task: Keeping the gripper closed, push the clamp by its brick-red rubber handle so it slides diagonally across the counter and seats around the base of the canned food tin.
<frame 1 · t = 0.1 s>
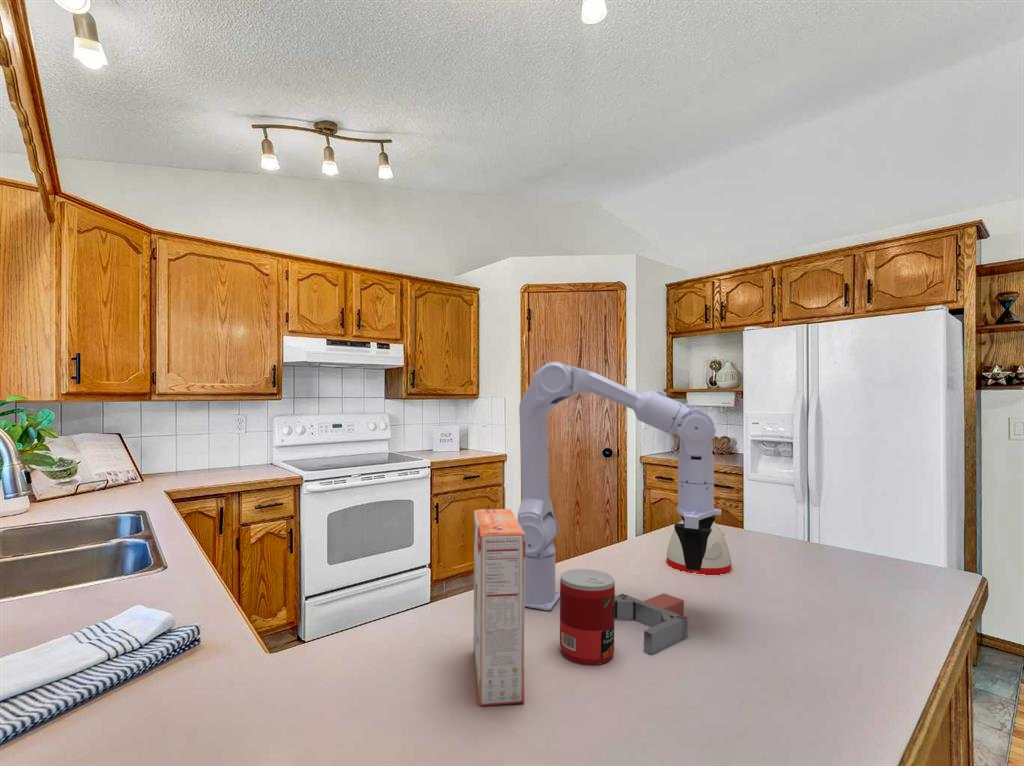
hand: (695, 562, 87), 10 cm above the counter, tool pointing down, fingers open, 7 cm apart
canned food: (586, 654, 76), on the counter
kitchen timer: (698, 566, 117), on the counter
cracker box: (495, 677, 69), on the counter
clamp: (629, 633, 82), on the counter
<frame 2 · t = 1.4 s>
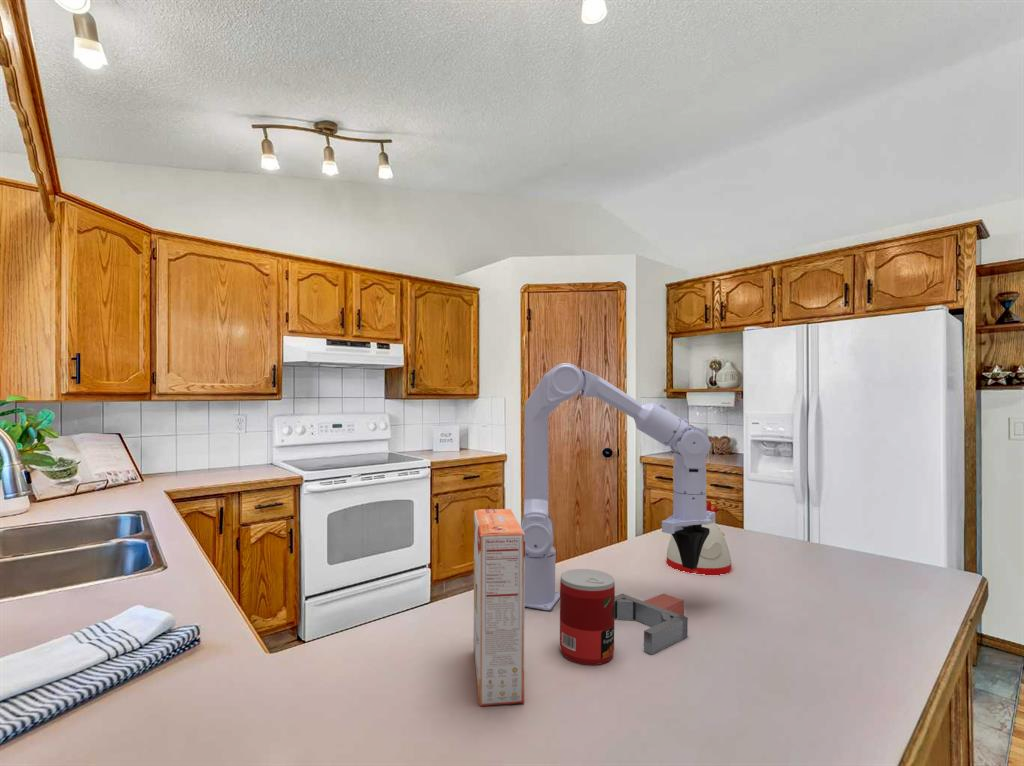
hand: (689, 567, 93), 7 cm above the counter, tool pointing down, fingers closed
nothing on the counter moved.
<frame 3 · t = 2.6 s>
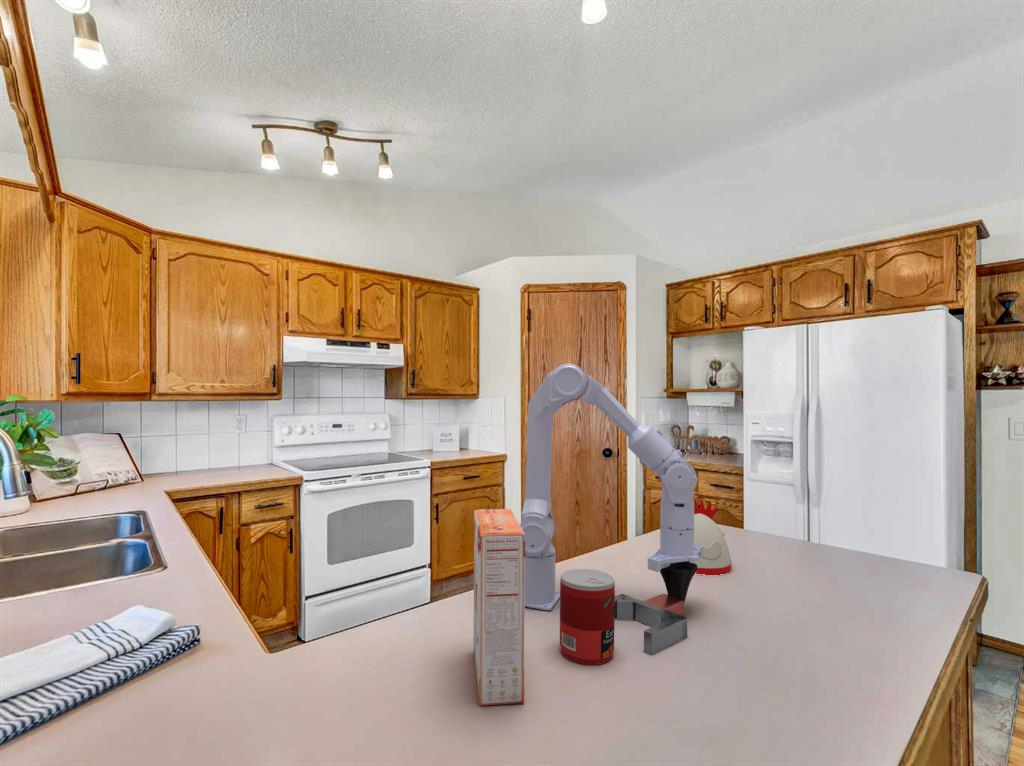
hand: (676, 604, 91), 1 cm above the counter, tool pointing down, fingers closed
clamp: (629, 633, 82), on the counter, touching gripper
everything else where it was.
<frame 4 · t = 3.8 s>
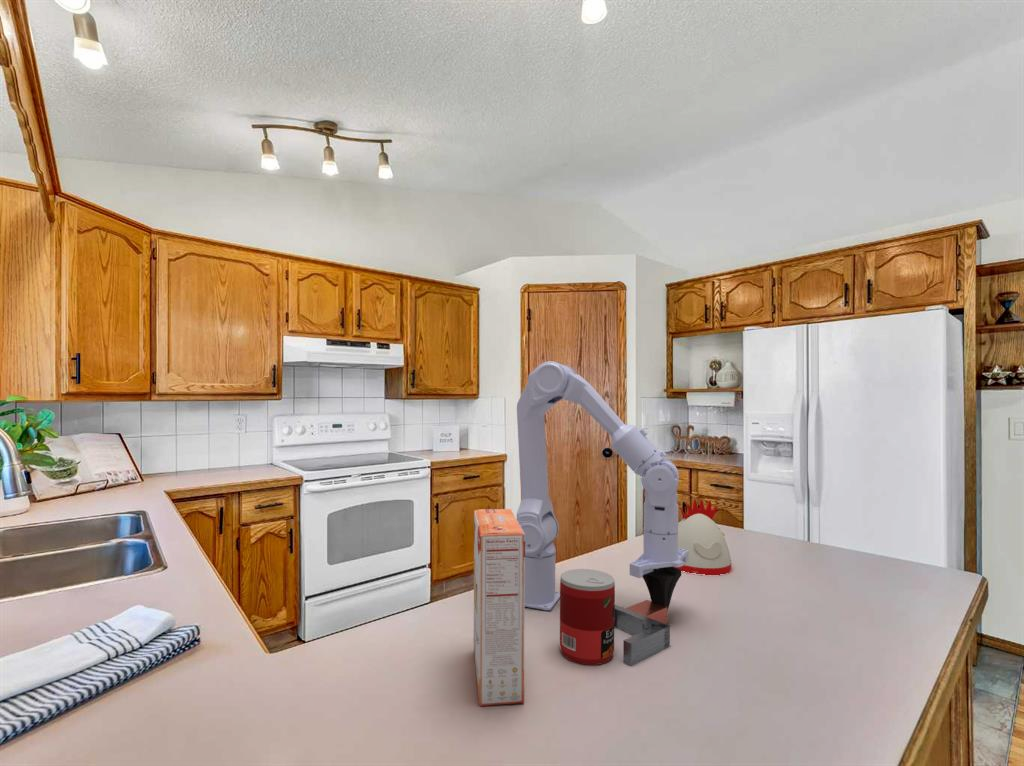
hand: (660, 611, 88), 1 cm above the counter, tool pointing down, fingers closed
clamp: (609, 642, 79), on the counter, touching gripper
everything else where it was.
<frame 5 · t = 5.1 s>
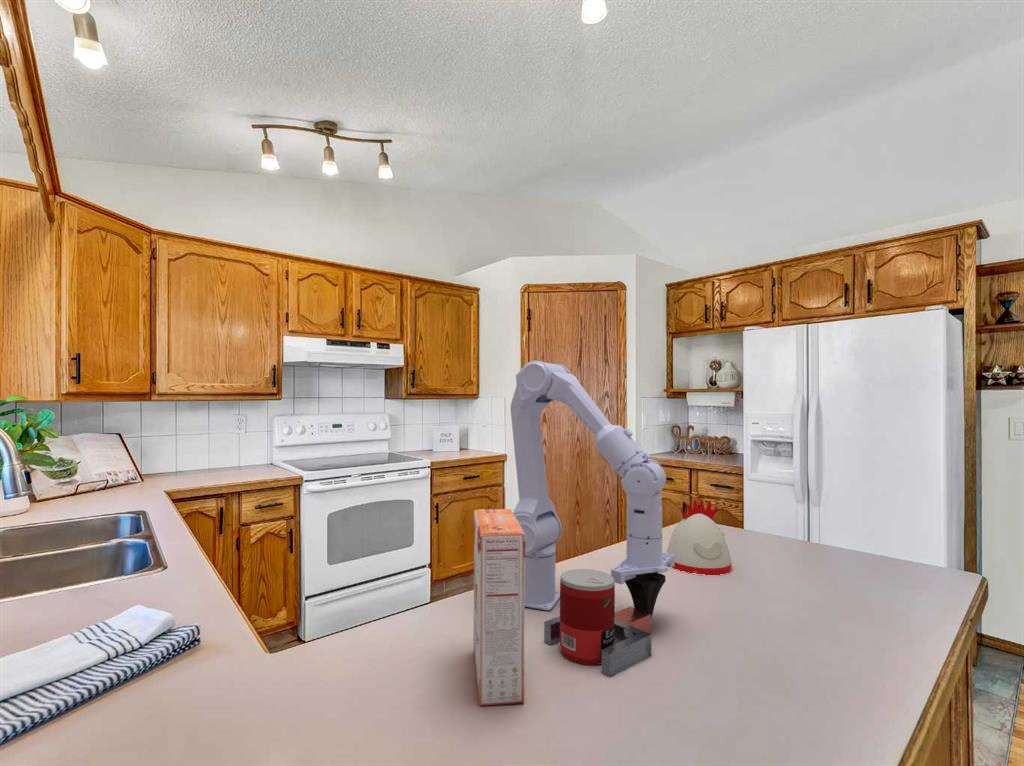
hand: (643, 618, 85), 1 cm above the counter, tool pointing down, fingers closed
clamp: (588, 651, 76), on the counter, touching gripper
everything else where it was.
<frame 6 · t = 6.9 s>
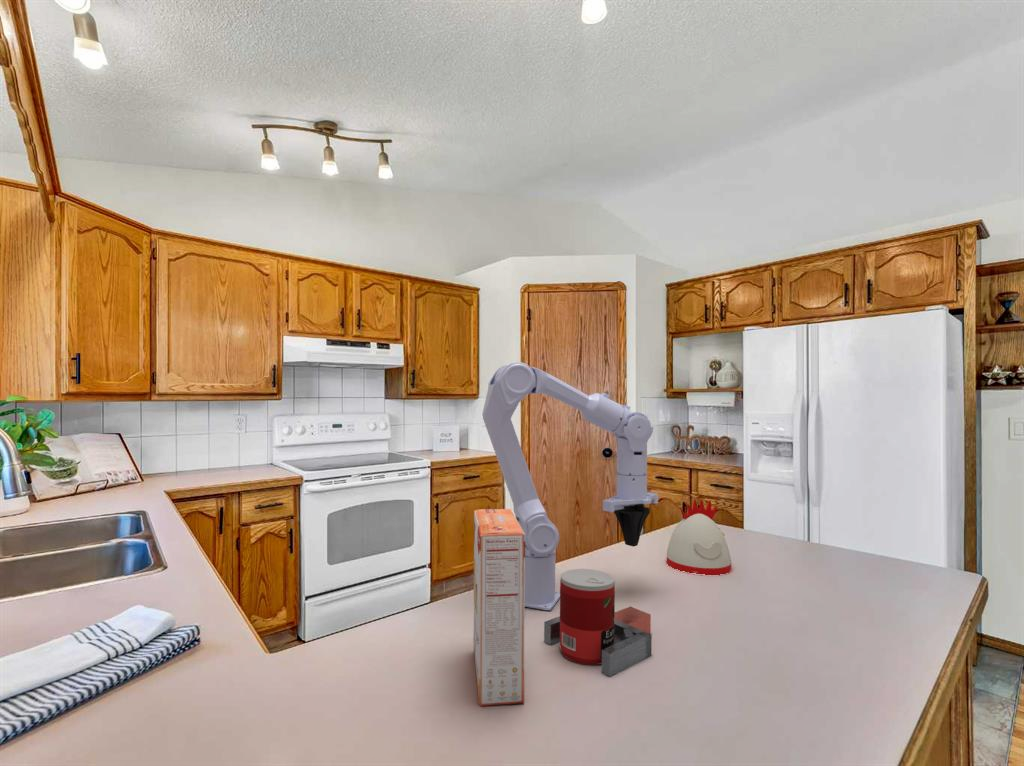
hand: (631, 544, 99), 9 cm above the counter, tool pointing down, fingers closed
clamp: (588, 651, 76), on the counter
everything else where it was.
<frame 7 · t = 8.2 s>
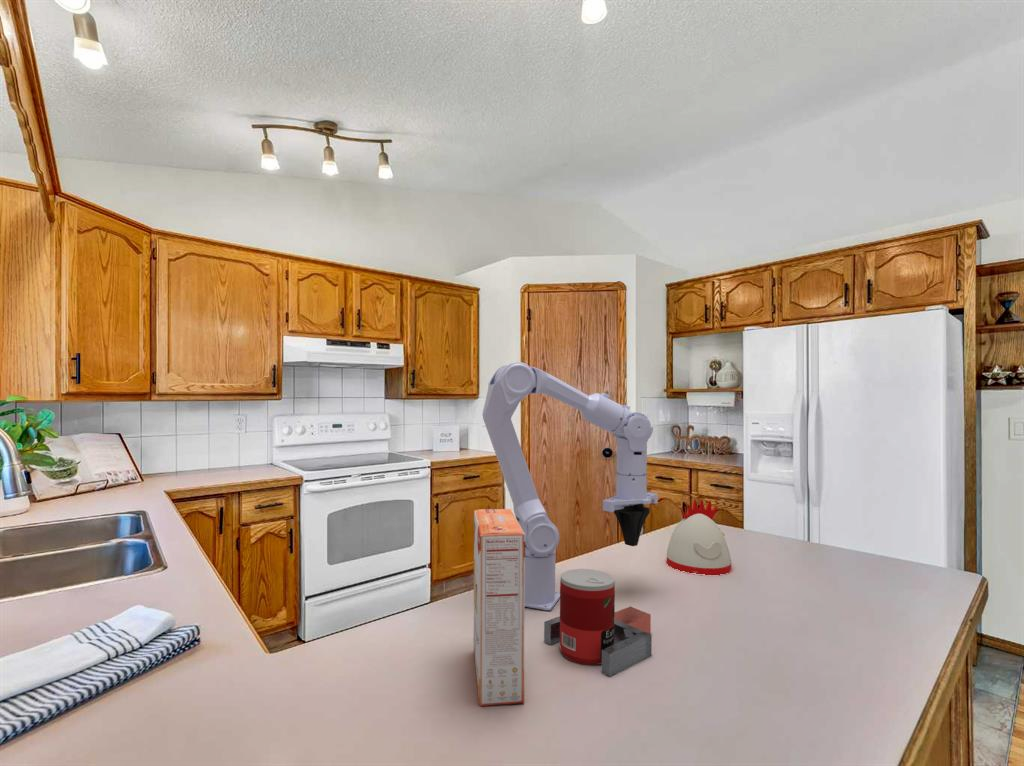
hand: (631, 544, 99), 9 cm above the counter, tool pointing down, fingers closed
nothing on the counter moved.
at the end: clamp 0.4 cm from the canned food (horizontally); canned food tilted 0°; canned food moved 0.2 cm from its start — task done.
